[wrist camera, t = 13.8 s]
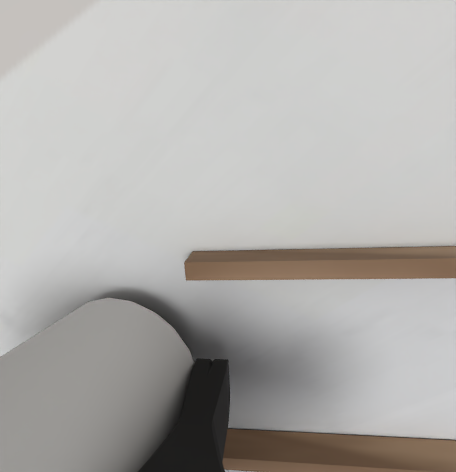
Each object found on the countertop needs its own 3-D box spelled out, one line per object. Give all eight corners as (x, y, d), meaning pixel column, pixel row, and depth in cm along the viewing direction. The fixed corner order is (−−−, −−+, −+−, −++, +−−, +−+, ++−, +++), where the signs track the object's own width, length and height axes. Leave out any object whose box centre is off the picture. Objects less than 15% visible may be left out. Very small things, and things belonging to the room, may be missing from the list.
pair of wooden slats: (457, 452, 13) (483, 487, 11) (209, 438, 14) (204, 468, 13) (507, 245, 10) (550, 256, 9) (192, 251, 11) (184, 262, 10)
